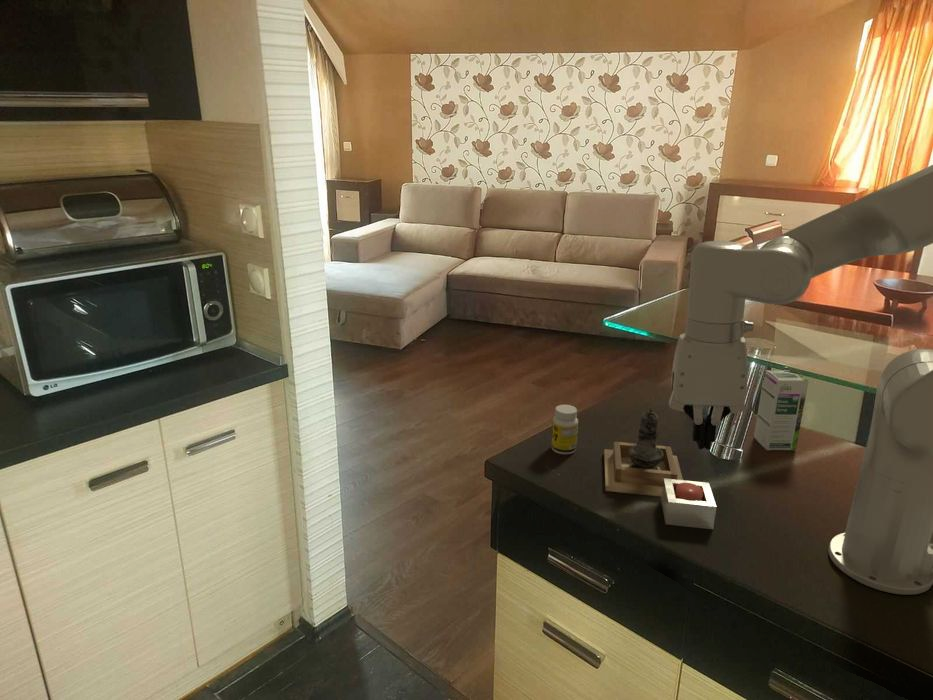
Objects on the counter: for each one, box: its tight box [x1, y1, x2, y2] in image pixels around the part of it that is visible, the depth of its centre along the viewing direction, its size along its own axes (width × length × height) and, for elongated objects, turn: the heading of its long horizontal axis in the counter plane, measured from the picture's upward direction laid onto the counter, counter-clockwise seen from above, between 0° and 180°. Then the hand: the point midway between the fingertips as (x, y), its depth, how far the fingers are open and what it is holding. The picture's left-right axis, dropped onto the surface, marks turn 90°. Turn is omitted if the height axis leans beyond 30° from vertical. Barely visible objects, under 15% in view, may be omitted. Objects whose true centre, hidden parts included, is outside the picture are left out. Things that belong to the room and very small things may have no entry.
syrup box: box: [753, 369, 809, 452], centre depth 123 cm, size 6×6×14 cm
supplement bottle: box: [550, 404, 579, 455], centre depth 121 cm, size 5×5×8 cm
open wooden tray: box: [603, 441, 684, 497], centre depth 113 cm, size 13×13×4 cm
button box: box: [660, 478, 718, 530], centre depth 102 cm, size 7×7×4 cm
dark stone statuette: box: [628, 407, 663, 470], centre depth 111 cm, size 6×6×12 cm
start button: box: [675, 483, 703, 501], centre depth 102 cm, size 4×4×3 cm
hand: (702, 445), depth 98 cm, fingers closed
